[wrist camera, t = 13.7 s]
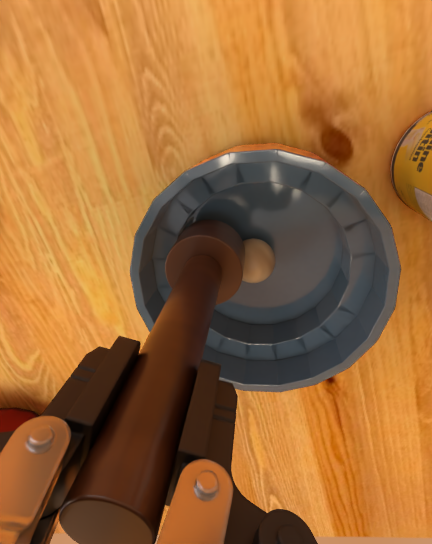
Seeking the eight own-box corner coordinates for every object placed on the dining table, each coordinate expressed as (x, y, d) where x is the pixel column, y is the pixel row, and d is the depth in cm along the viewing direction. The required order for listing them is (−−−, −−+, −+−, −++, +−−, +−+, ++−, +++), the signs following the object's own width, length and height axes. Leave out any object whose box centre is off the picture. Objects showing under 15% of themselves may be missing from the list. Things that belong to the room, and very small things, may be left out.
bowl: (409, 177, 22) (456, 196, 16) (322, 360, 28) (335, 418, 23) (180, 116, 22) (151, 115, 17) (146, 310, 29) (117, 354, 23)
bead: (290, 268, 23) (265, 289, 21) (257, 272, 25) (232, 292, 24) (274, 227, 22) (247, 246, 21) (241, 235, 25) (215, 253, 23)
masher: (256, 234, 21) (237, 510, 6) (231, 292, 23) (174, 604, 8) (188, 208, 21) (15, 432, 6) (169, 269, 23) (3, 546, 8)
